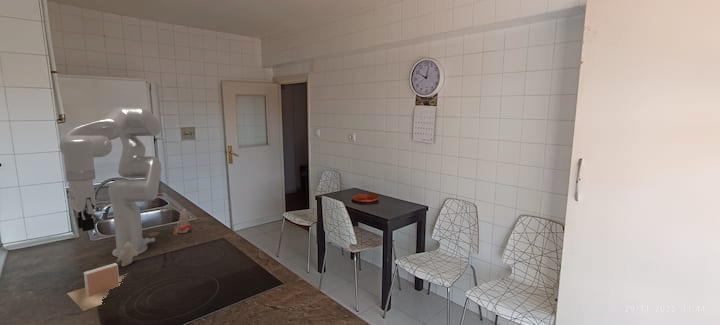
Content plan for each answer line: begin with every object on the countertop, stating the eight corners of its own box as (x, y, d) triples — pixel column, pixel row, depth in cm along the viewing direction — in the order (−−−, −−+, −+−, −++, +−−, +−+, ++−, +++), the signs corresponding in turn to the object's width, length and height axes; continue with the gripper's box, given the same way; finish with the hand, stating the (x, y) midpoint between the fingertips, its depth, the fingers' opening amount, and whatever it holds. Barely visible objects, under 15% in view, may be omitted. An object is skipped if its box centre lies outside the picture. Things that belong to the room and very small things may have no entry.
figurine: (182, 228, 179) (184, 206, 177) (193, 231, 177) (195, 209, 175) (168, 233, 170) (170, 210, 168) (180, 237, 168) (182, 213, 167)
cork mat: (128, 274, 130) (128, 273, 130) (147, 288, 121) (147, 287, 121) (67, 294, 116) (67, 293, 116) (83, 312, 106) (83, 310, 106)
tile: (117, 284, 122) (115, 262, 121) (119, 286, 121) (117, 264, 119) (86, 295, 115) (83, 272, 114) (88, 297, 114) (85, 274, 112)
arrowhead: (119, 270, 133) (117, 245, 131) (115, 269, 134) (113, 244, 132) (140, 262, 140) (138, 239, 138) (136, 261, 141) (134, 237, 140)
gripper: (58, 173, 117) (64, 226, 120) (74, 181, 107) (80, 237, 110) (86, 170, 123) (91, 220, 126) (103, 177, 113) (108, 231, 116)
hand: (86, 228), depth 118 cm, fingers open, 3 cm apart
